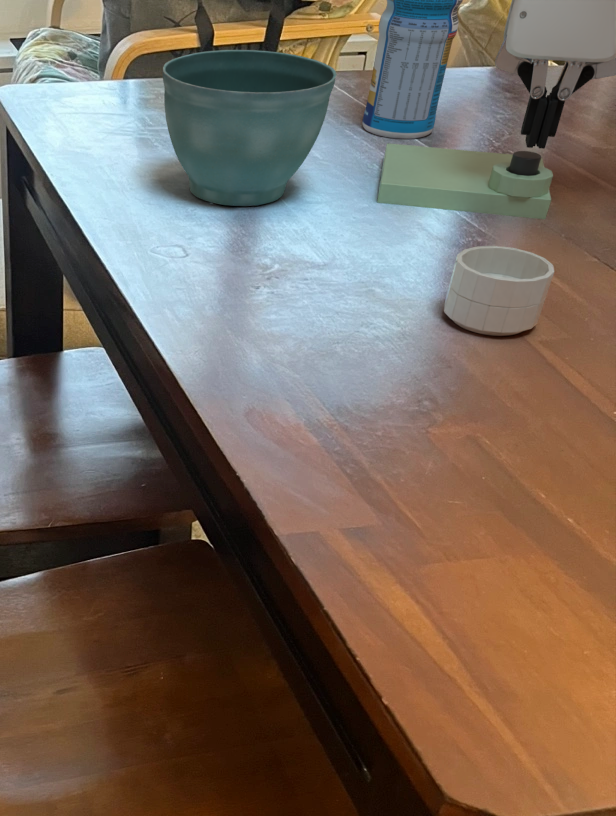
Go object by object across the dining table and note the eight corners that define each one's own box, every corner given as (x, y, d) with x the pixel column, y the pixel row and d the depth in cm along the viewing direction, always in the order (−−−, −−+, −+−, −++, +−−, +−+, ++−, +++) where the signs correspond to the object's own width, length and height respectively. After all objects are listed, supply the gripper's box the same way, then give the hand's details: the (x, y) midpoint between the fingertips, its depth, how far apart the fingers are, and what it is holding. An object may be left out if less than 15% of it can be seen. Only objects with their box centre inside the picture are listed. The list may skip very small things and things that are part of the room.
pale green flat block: (536, 176, 111) (547, 140, 109) (545, 221, 101) (557, 182, 98) (382, 162, 114) (390, 126, 111) (376, 204, 104) (384, 166, 101)
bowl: (532, 308, 86) (550, 251, 83) (537, 344, 81) (557, 285, 78) (442, 297, 87) (456, 241, 84) (442, 333, 82) (457, 274, 79)
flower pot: (174, 223, 99) (184, 93, 91) (140, 170, 110) (147, 50, 103) (338, 217, 101) (361, 88, 93) (288, 165, 112) (305, 47, 105)
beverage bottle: (388, 144, 119) (433, -77, 105) (345, 124, 124) (382, -88, 110) (448, 136, 121) (500, -80, 107) (403, 117, 127) (447, -91, 113)
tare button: (534, 171, 102) (540, 152, 101) (536, 180, 100) (542, 160, 99) (507, 169, 102) (512, 149, 101) (508, 177, 101) (513, 157, 99)
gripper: (691, -103, 88) (613, 139, 100) (506, -109, 91) (452, 128, 103) (707, -93, 83) (623, 161, 95) (510, -99, 85) (453, 149, 98)
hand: (534, 143), depth 99 cm, fingers closed
